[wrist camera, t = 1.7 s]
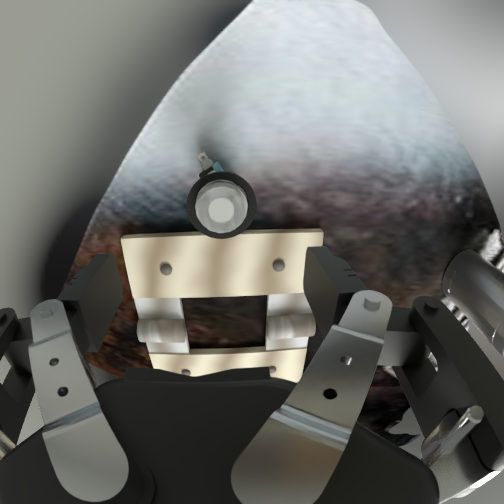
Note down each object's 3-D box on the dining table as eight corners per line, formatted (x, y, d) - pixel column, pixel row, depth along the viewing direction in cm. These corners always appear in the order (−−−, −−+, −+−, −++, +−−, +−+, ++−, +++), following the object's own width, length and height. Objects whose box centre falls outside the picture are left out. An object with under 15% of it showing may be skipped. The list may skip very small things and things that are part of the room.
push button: (180, 166, 28) (160, 186, 19) (223, 138, 27) (222, 144, 18) (215, 215, 31) (211, 256, 22) (257, 189, 30) (271, 220, 21)
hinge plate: (320, 228, 33) (329, 239, 30) (299, 376, 44) (303, 390, 41) (123, 234, 31) (115, 246, 28) (161, 381, 42) (158, 396, 39)
